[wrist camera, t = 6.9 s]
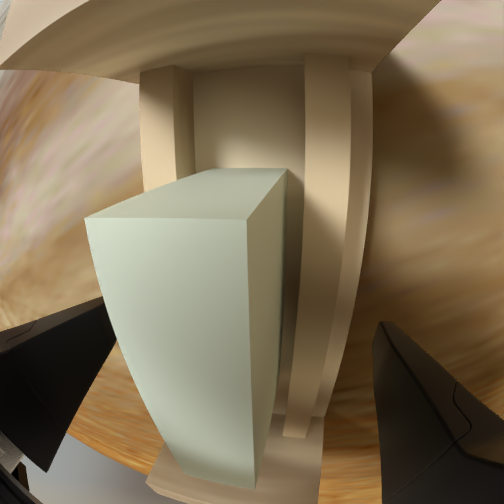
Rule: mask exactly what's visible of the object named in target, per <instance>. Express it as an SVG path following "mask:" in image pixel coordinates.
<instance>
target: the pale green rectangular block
mask: <svg viewBox="0 0 504 504" xmlns="http://www.w3.org/2000/svg"><path fill="white" fill-rule="evenodd" d="M84 219H85V225H86V230H87V235H88V240H89V245H90V249H91V254H92V258H93V262H94V266H95V270H96V274H97V278H98V281H99V285H100V288H101V292H102V295H103V299H104V302H105V305H106V308H107V312H108V315H109V318H110V321H111V324H112V326H113V329H114V332H115V335H116V338H117V340H118V343H119V346H120V348H121V351H122V353H123V356H124V359H125V361H126V363H127V366H128V368H129V371H130V373H131V375H132V378H133V380H134V382H135V384H136V386H137V389H138V391H139V393H140V395H141V397H142V399H143V401H144V403H145V405H146V407H147V409H148V411H149V413H150V415H151V417H152V419H153V421H154V423H155V425H156V427H157V428H158V430H159V432H160V434H161V436H162V437H163V439H164V441H165V443H166V444H167V446H168V448H169V449H170V451H171V453H172V454H173V456H174V458H175V459H176V461H177V462H178V464H179V466H180V467H181V469H182V470H183V472H184V473H185V474H186V475H190V476H193V477H197V478H201V479H205V480H209V481H213V482H217V483H222V484H226V485H231V486H237V487H242V488H248V489H255V488H256V484H257V480H258V476H259V471H260V467H261V463H262V458H263V454H264V450H265V445H266V440H267V436H268V431H269V426H270V421H271V417H272V412H273V407H274V401H275V396H276V391H277V386H278V380H279V375H280V362H281V347H282V331H283V312H284V291H285V266H286V233H287V168H212V169H209V170H206V171H203V172H200V173H197V174H194V175H191V176H188V177H185V178H182V179H179V180H176V181H174V182H171V183H168V184H165V185H163V186H160V187H157V188H155V189H152V190H149V191H147V192H144V193H142V194H139V195H137V196H134V197H132V198H129V199H127V200H124V201H122V202H120V203H117V204H115V205H113V206H110V207H108V208H106V209H103V210H101V211H99V212H97V213H94V214H92V215H90V216H88V217H86V218H84Z"/></svg>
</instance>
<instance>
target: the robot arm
mask: <svg viewBox="0 0 504 504" xmlns="http://www.w3.org/2000/svg"><path fill="white" fill-rule="evenodd" d="M116 340H117V338H116V335H115V332H114V329H113V326H112V324H111V321H110V318H109V315H108V312H107V308H106V305H105V302H104V299H103V296H102V297H99V298H96V299H93V300H90V301H88V302H85V303H82V304H79V305H76V306H74V307H71V308H68V309H65V310H62V311H60V312H57V313H54V314H51V315H48V316H46V317H43V318H40V319H38V320H34V321H32V322H29V323H26V324H23V325H20V326H17V327H14V328H11V329H7V330H4V331H1V332H0V504H42V503H41V502H40V501H39V500H38V499H37V498H36V497H34V496H33V495H32V494H31V493H30V492H29V485H28V479H27V473H26V466H25V465H24V464H23V463H22V462H21V461H20V460H21V459H22V458H23V456H24V455H26V456H27V457H28V458H29V459H30V460H31V461H32V462H33V463H35V464H36V465H37V466H38V467H40V468H41V469H42V470H43V471H45V472H46V473H47V471H48V470H49V468H50V466H51V463H52V461H53V459H54V457H55V455H56V453H57V450H58V448H59V446H60V444H61V442H62V440H63V438H64V436H65V434H66V431H67V430H68V428H69V426H70V424H71V422H72V420H73V418H74V416H75V414H76V412H77V410H78V408H79V406H80V405H81V403H82V401H83V399H84V397H85V395H86V394H87V392H88V390H89V388H90V386H91V385H92V383H93V381H94V379H95V378H96V376H97V374H98V372H99V371H100V369H101V367H102V365H103V364H104V362H105V360H106V359H107V357H108V355H109V354H110V352H111V350H112V348H113V346H114V344H115V342H116ZM372 353H373V382H374V395H375V403H376V411H377V420H378V430H379V442H380V456H381V478H382V504H504V420H503V419H502V418H500V417H499V416H498V415H497V414H495V413H494V412H493V411H492V410H490V409H489V408H488V407H487V406H485V405H484V404H483V403H482V402H481V401H479V400H478V399H477V398H476V397H475V396H473V395H472V394H471V393H470V392H469V391H468V390H467V389H466V388H465V387H464V386H463V385H461V384H460V383H459V382H458V381H457V382H456V379H455V378H454V377H453V376H452V375H451V374H450V373H449V372H447V371H446V370H445V369H444V368H443V367H442V366H441V365H440V364H439V363H438V362H437V361H435V360H434V359H433V358H432V357H431V356H430V355H429V354H428V353H427V352H426V351H424V350H423V349H422V348H421V347H420V346H419V345H418V344H417V343H415V342H414V341H413V340H412V339H411V338H410V337H409V336H408V335H406V334H405V333H404V332H403V331H402V330H401V329H400V328H398V327H397V326H396V325H395V324H394V323H393V322H391V321H380V322H379V324H378V326H377V329H376V333H375V336H374V340H373V344H372Z"/></svg>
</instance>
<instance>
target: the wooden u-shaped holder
mask: <svg viewBox="0 0 504 504" xmlns="http://www.w3.org/2000/svg"><path fill="white" fill-rule="evenodd" d="M440 1H441V0H12V2H11V6H10V9H9V12H8V15H7V19H6V22H5V26H4V30H3V34H2V38H1V43H0V70H42V71H56V72H67V73H76V74H84V75H91V76H98V77H104V78H110V79H115V80H121V81H126V82H131V83H136V84H140V86H139V107H140V140H141V158H142V172H143V183H144V192H147V191H149V190H152V189H155V188H157V187H160V186H163V185H165V184H168V183H171V182H174V181H176V180H179V179H182V178H185V177H188V176H191V175H194V174H197V173H200V172H203V171H206V170H209V169H212V168H287V233H286V266H285V291H284V312H283V331H282V347H281V362H280V375H279V380H278V386H277V391H276V396H275V401H274V407H273V412H272V417H271V421H270V426H269V431H268V436H267V440H266V445H265V450H264V454H263V458H262V463H261V467H260V471H259V476H258V480H257V484H256V488H255V489H248V488H242V487H237V486H231V485H226V484H222V483H217V482H213V481H209V480H205V479H201V478H197V477H193V476H190V475H186V474H185V473H184V472H183V470H182V469H181V467H180V466H179V464H178V462H177V461H176V459H175V458H174V456H173V454H172V453H171V451H170V449H169V448H168V446H167V444H166V443H164V445H163V447H162V449H161V451H160V453H159V455H158V457H157V459H156V461H155V463H154V465H153V467H152V470H151V472H150V474H149V476H148V478H147V480H146V483H147V484H148V485H149V486H150V487H151V488H152V489H153V490H154V491H155V492H156V493H158V494H161V495H164V496H167V497H170V498H173V499H175V500H179V501H182V502H185V503H188V504H317V503H318V494H319V485H320V475H321V464H322V450H323V435H324V417H325V414H326V411H327V408H328V405H329V401H330V398H331V395H332V392H333V388H334V385H335V382H336V378H337V375H338V371H339V367H340V364H341V360H342V356H343V352H344V348H345V344H346V340H347V336H348V332H349V327H350V323H351V318H352V314H353V309H354V304H355V299H356V294H357V288H358V283H359V277H360V271H361V265H362V258H363V251H364V244H365V237H366V229H367V220H368V210H369V200H370V187H371V172H372V151H373V92H372V71H373V70H374V69H375V68H376V67H377V66H378V64H379V63H380V62H381V61H382V60H383V59H384V58H385V57H386V56H387V55H388V54H389V53H390V52H391V51H392V50H393V49H394V48H395V46H396V45H397V44H398V43H399V42H400V41H401V40H402V39H403V38H404V37H405V36H406V35H407V34H408V33H409V32H410V31H411V30H412V29H413V28H414V27H415V26H416V25H417V24H418V23H419V22H420V21H421V20H422V19H423V18H424V17H425V16H426V15H427V14H428V13H429V12H430V11H431V10H432V9H433V8H434V7H435V6H436V5H437V4H438V3H439V2H440Z"/></svg>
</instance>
